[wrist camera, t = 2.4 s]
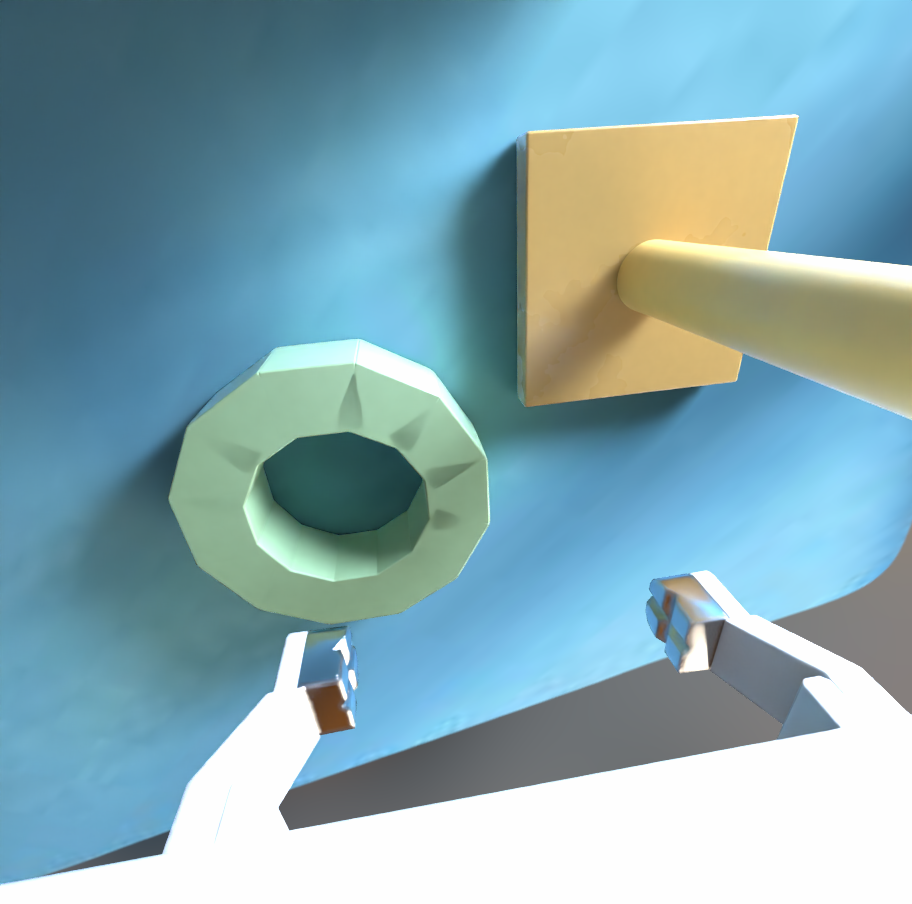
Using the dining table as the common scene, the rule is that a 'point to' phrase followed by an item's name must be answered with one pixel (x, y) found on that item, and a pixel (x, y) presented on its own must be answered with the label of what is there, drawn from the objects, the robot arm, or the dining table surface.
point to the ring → (308, 549)
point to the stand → (687, 270)
